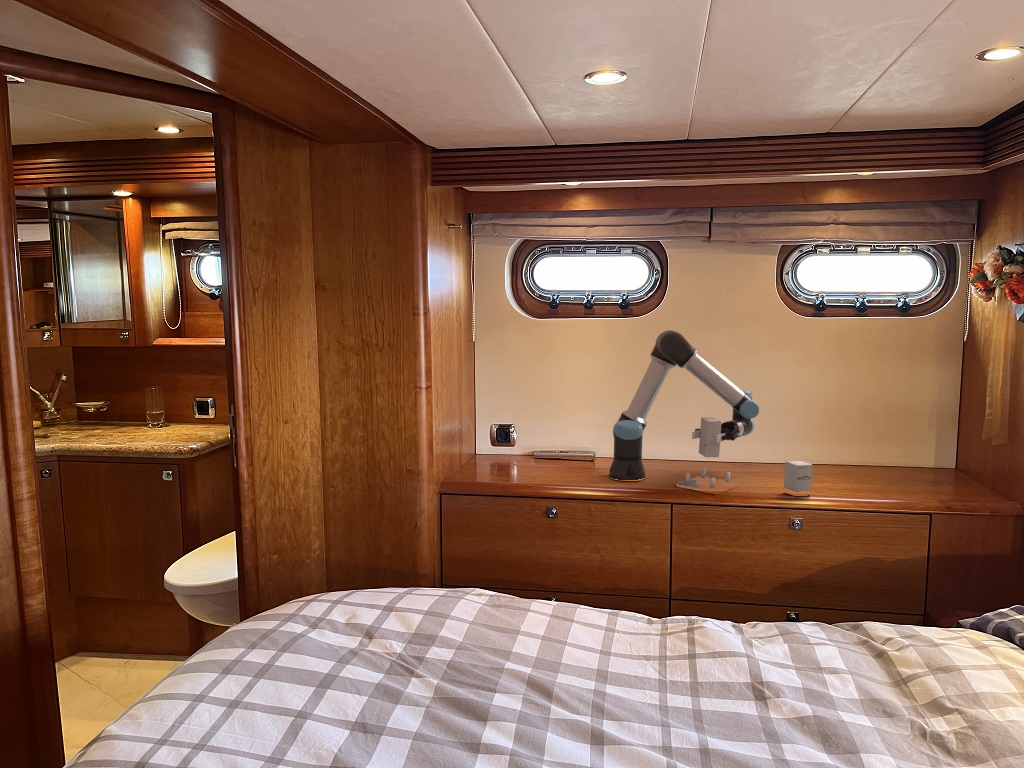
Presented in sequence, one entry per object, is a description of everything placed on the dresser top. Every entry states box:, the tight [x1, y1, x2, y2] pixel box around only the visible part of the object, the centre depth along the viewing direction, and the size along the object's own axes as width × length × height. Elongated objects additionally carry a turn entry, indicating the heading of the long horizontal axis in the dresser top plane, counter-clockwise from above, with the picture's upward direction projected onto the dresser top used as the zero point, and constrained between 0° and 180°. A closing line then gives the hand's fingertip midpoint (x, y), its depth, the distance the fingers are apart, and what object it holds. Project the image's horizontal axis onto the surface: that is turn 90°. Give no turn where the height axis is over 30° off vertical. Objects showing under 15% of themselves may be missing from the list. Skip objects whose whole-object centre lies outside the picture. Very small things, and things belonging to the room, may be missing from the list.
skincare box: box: [698, 416, 722, 458], centre depth 296 cm, size 8×6×15 cm
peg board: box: [674, 467, 731, 488], centre depth 298 cm, size 18×20×6 cm
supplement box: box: [783, 460, 814, 492], centre depth 287 cm, size 7×7×13 cm
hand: (704, 437), depth 293 cm, fingers closed on skincare box, 9 cm apart
